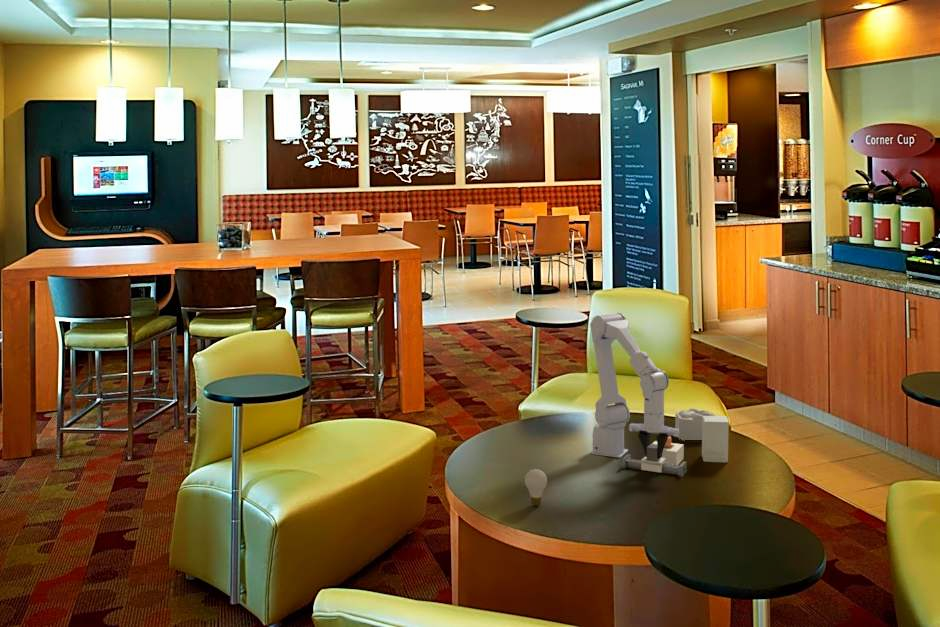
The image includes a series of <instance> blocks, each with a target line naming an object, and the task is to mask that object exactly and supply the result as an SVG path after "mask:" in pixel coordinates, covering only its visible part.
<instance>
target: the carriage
mask: <svg viewBox="0 0 940 627" xmlns="http://www.w3.org/2000/svg"><path fill="white" fill-rule="evenodd" d="M657 452H658V445H657V444H652V443H650V445H649V446H648V447H647V457H645V456H644V457H643V458H642V459H640V460H641V469H640V470H641V471H648V472H654V473H662V465H663V464H666V458H660V459H658V457H657Z"/></svg>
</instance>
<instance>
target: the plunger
mask: <svg viewBox="0 0 940 627" xmlns="http://www.w3.org/2000/svg"><path fill="white" fill-rule="evenodd" d="M671 443H672V436H671V435H669V437H668V439H667V441H666V443H665V446H664V448H666V449H668V448H670V447H671Z"/></svg>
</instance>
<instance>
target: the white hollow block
mask: <svg viewBox="0 0 940 627" xmlns="http://www.w3.org/2000/svg"><path fill="white" fill-rule="evenodd" d="M651 444H657V440H654V441H653V442H652V443H651ZM684 454H685V444H683V443H682V444H681V443H673V442H671V447H670V448H668V449H666V448H664V449H663V453H662V457H661V458H666V464H672V465H680V464H681V463H682V462H683V460H684Z"/></svg>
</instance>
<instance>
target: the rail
mask: <svg viewBox="0 0 940 627" xmlns="http://www.w3.org/2000/svg"><path fill="white" fill-rule="evenodd" d="M631 457H632V454H630V453H627V454H626V455H624V457H623V456H622V457H621V469H623V468H626V467H629V468H628V469H636V470H641V460H642V459H634V458H631ZM687 463H688V462H687V461H683V460H682V461H681V462H680V463H679V464H678V465H672V464H663V465H662V472H661V473H663V474H671V475H677V476H678V477H681V478H682V477H684V475H685V474H686V473H687V468H688V467H687V466H688V465H687Z"/></svg>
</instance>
